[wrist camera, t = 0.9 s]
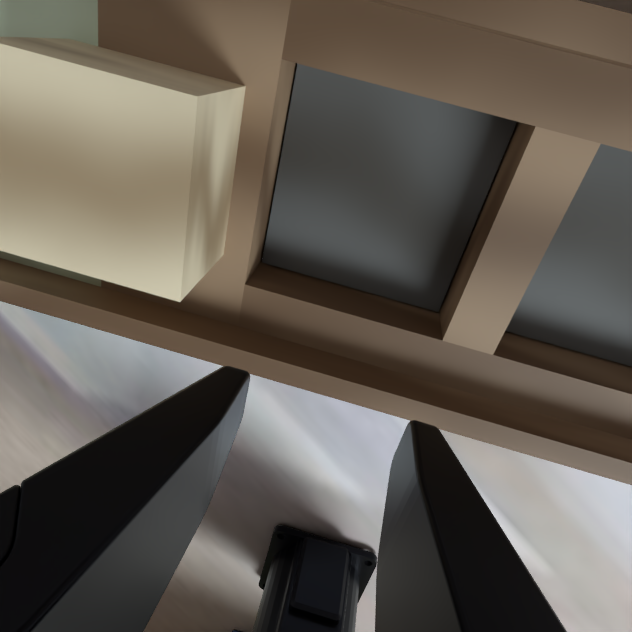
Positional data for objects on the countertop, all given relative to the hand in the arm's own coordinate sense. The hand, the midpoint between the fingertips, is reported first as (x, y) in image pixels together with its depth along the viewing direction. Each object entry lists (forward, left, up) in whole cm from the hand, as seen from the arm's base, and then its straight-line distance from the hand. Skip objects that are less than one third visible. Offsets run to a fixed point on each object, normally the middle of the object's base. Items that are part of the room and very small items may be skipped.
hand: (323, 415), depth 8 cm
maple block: (0, +8, -10) cm, 13 cm away
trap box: (0, +1, -13) cm, 13 cm away
